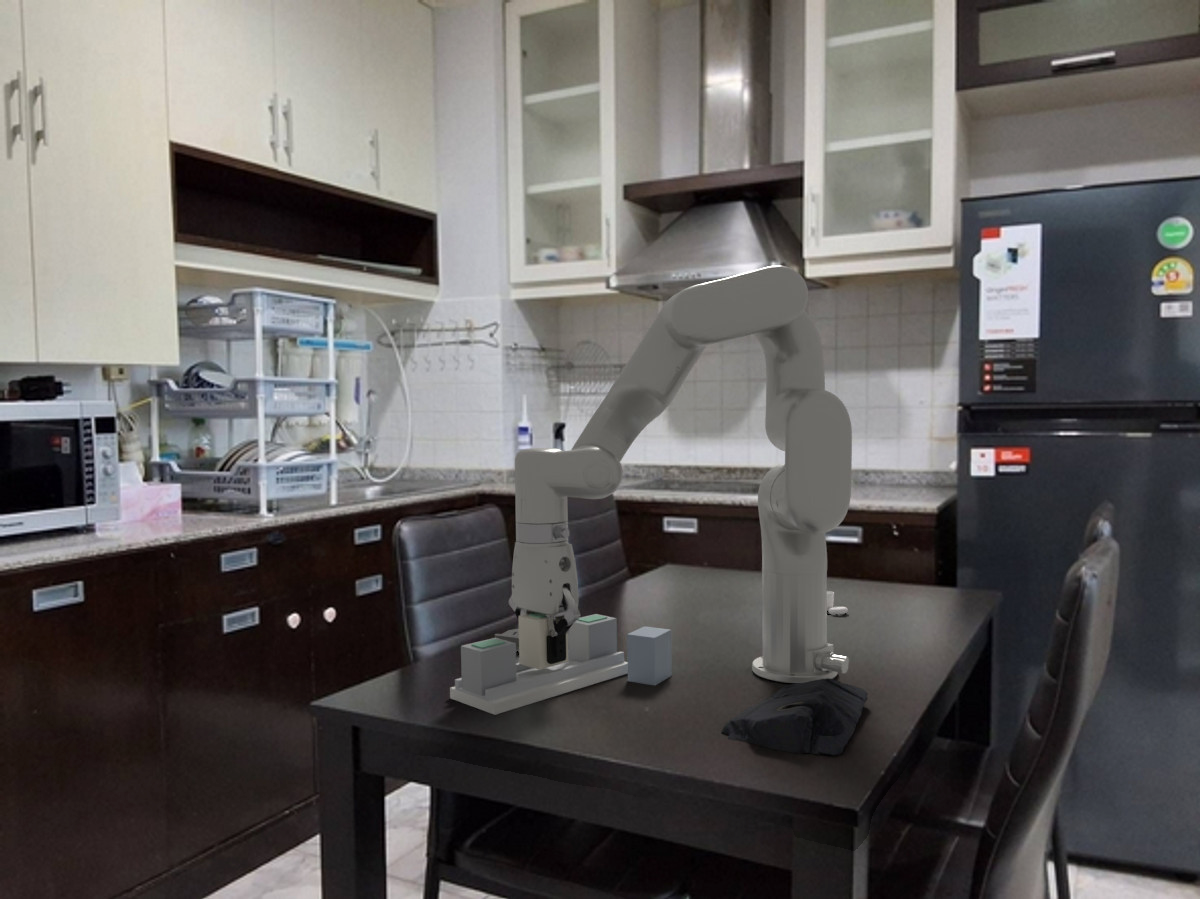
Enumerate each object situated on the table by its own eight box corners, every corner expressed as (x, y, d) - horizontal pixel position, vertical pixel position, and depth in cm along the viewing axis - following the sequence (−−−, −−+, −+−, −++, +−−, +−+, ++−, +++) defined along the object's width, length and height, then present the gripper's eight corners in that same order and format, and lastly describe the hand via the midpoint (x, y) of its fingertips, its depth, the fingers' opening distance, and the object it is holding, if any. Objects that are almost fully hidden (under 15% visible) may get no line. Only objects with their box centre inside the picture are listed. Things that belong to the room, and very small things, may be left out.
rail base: (630, 672, 138) (630, 653, 138) (494, 714, 120) (494, 693, 120) (584, 660, 146) (584, 642, 145) (450, 698, 127) (449, 677, 127)
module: (671, 675, 137) (671, 629, 137) (655, 685, 132) (654, 637, 132) (644, 671, 139) (644, 626, 139) (627, 681, 134) (627, 634, 134)
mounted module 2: (617, 656, 140) (616, 617, 140) (589, 665, 136) (588, 623, 136) (596, 651, 144) (596, 612, 143) (568, 659, 139) (568, 619, 139)
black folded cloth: (887, 709, 122) (887, 674, 121) (836, 765, 103) (836, 724, 103) (778, 692, 130) (777, 658, 130) (712, 740, 111) (712, 702, 111)
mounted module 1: (516, 686, 126) (515, 641, 126) (481, 696, 122) (481, 650, 122) (496, 679, 129) (495, 636, 129) (461, 689, 125) (460, 644, 125)
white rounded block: (853, 618, 174) (853, 597, 174) (810, 618, 174) (810, 597, 174) (842, 608, 182) (842, 588, 182) (802, 608, 183) (802, 588, 182)
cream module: (568, 661, 133) (567, 612, 133) (539, 669, 129) (538, 619, 129) (548, 656, 136) (547, 608, 136) (519, 663, 132) (518, 614, 132)
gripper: (601, 536, 128) (603, 664, 129) (524, 526, 141) (526, 643, 141) (562, 542, 123) (564, 675, 124) (485, 531, 135) (487, 653, 136)
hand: (544, 657), depth 133 cm, fingers open, 4 cm apart
